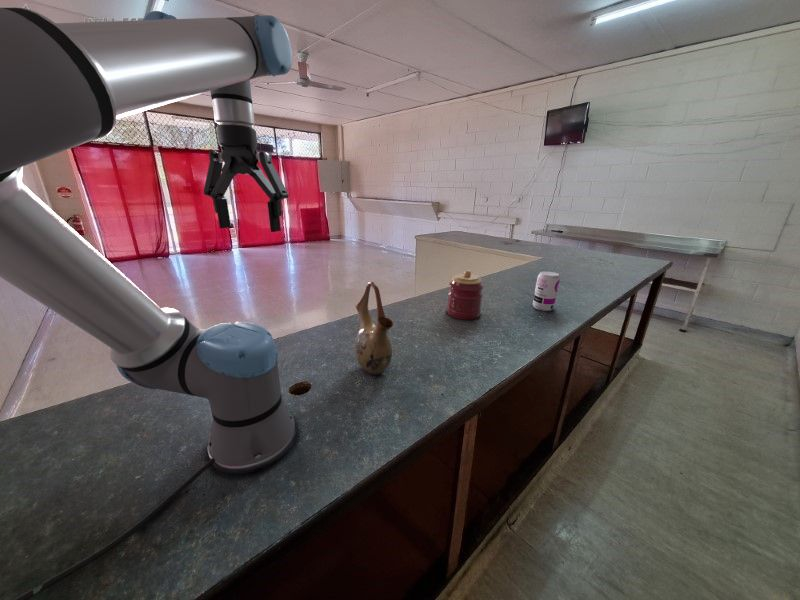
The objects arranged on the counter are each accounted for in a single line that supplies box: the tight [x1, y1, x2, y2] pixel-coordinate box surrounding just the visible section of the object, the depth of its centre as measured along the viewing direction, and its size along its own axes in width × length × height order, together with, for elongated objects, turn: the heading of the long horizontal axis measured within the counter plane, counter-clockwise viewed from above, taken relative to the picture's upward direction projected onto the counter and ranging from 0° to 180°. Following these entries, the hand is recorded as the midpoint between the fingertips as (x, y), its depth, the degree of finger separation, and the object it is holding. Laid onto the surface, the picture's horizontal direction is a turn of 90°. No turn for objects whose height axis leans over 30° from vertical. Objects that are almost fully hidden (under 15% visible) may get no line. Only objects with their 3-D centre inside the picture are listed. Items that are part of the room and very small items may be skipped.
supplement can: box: [532, 270, 561, 312], centre depth 130 cm, size 8×8×15 cm
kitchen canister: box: [446, 269, 484, 321], centre depth 121 cm, size 13×13×18 cm
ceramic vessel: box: [354, 281, 394, 376], centre depth 81 cm, size 16×9×25 cm, turn 32°
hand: (250, 229), depth 73 cm, fingers open, 13 cm apart
